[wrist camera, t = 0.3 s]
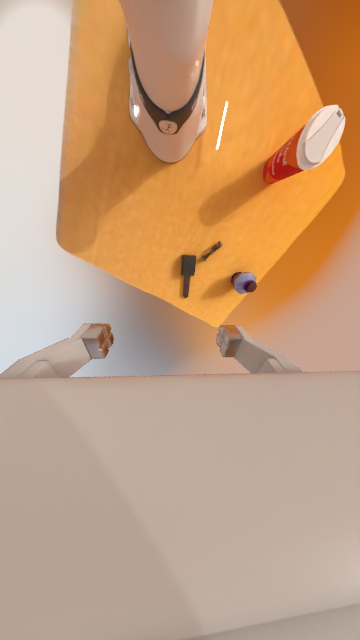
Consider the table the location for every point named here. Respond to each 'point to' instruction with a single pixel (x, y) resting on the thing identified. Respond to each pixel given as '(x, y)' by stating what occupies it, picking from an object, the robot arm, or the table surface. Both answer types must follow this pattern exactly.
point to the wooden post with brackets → (212, 251)
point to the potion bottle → (244, 282)
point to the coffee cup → (307, 145)
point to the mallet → (187, 271)
